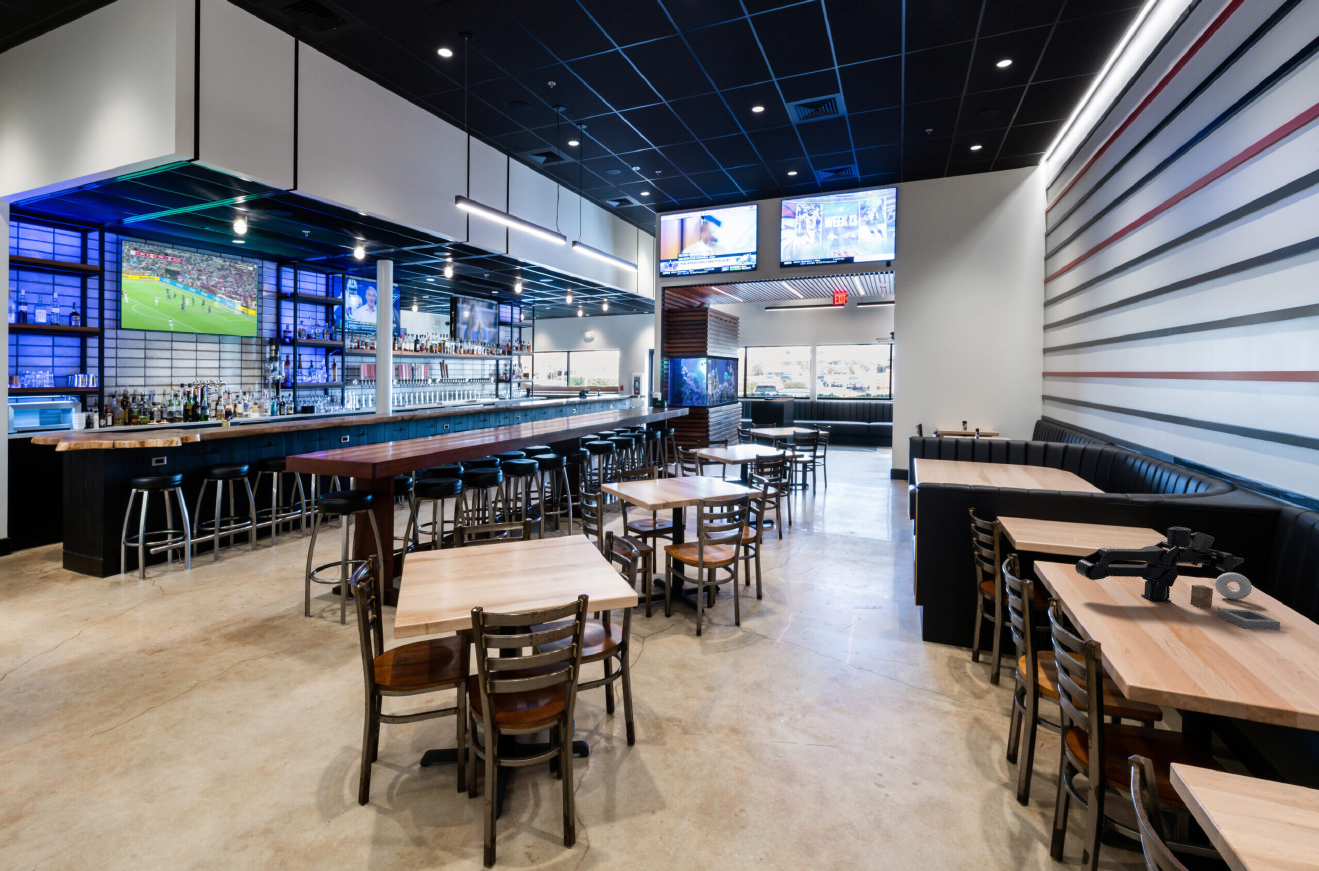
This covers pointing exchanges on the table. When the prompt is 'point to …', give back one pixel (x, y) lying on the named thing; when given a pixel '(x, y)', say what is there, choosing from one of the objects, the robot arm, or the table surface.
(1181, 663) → the table surface
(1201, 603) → the walnut post
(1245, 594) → the donut
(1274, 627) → the square well
